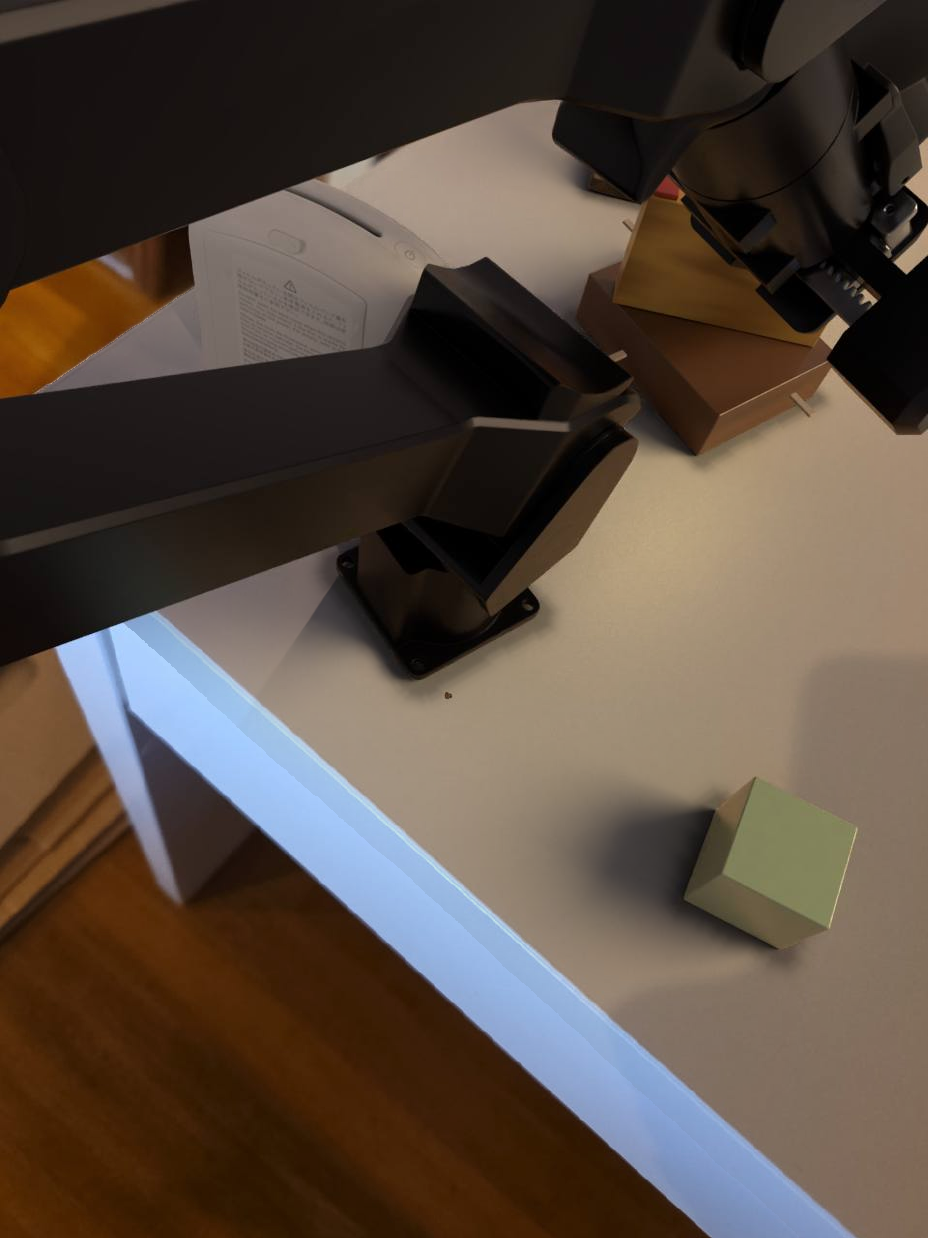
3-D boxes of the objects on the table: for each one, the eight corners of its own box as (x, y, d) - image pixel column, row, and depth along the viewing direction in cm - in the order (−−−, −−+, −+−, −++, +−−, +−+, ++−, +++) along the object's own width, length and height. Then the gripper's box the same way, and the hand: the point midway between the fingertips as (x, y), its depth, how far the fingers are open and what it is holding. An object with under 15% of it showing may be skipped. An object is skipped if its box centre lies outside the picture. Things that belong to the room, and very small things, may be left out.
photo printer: (439, 441, 45) (477, 221, 35) (395, 507, 43) (422, 295, 33) (247, 349, 46) (226, 108, 36) (195, 409, 44) (157, 172, 34)
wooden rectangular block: (813, 324, 48) (876, 218, 43) (813, 347, 47) (878, 243, 42) (615, 279, 48) (653, 167, 42) (612, 302, 47) (651, 192, 41)
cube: (780, 950, 36) (830, 930, 33) (682, 899, 37) (720, 874, 33) (809, 856, 38) (859, 827, 35) (715, 808, 39) (755, 775, 35)
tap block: (881, 404, 50) (914, 361, 48) (676, 514, 45) (699, 473, 42) (706, 228, 55) (727, 180, 52) (502, 310, 50) (513, 262, 47)
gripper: (1265, 58, 24) (1168, 274, 37) (759, -296, 30) (835, 1, 43) (883, 393, 28) (922, 477, 41) (506, 20, 34) (648, 201, 47)
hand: (831, 277), depth 43 cm, fingers closed
